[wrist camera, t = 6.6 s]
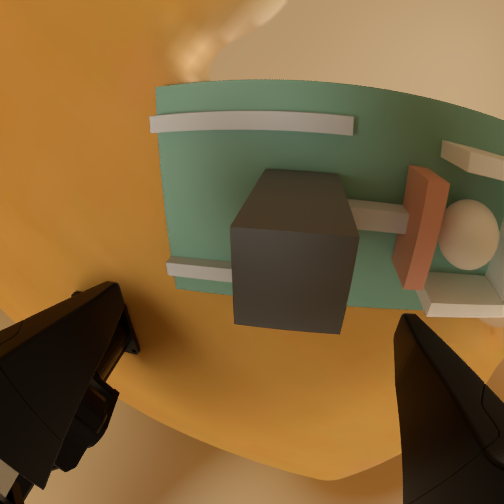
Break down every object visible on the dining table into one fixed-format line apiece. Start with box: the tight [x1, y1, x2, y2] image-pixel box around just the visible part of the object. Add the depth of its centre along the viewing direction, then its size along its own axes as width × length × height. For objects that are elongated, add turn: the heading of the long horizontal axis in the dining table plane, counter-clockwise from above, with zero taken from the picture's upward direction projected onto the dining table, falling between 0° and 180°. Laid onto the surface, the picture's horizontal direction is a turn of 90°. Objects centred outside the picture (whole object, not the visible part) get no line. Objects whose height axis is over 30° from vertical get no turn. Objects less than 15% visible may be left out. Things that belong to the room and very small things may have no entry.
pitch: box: [150, 80, 504, 318], centre depth 15 cm, size 14×24×4 cm, turn 90°
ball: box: [438, 199, 499, 270], centre depth 14 cm, size 4×4×4 cm
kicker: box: [230, 165, 450, 334], centre depth 13 cm, size 6×9×8 cm, turn 90°
